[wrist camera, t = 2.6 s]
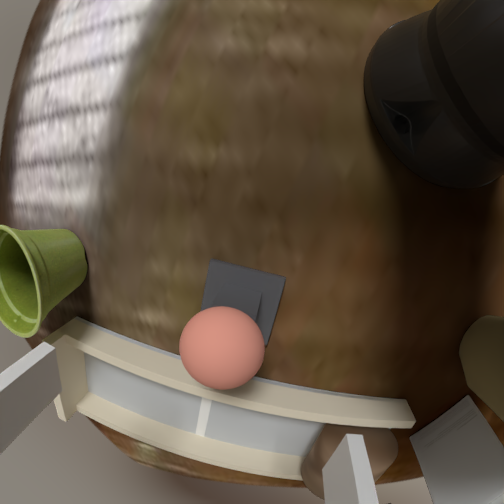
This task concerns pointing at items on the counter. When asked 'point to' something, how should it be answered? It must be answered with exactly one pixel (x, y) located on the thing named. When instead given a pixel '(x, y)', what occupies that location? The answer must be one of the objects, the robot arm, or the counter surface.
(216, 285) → the tee
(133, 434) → the tray
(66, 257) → the plant pot
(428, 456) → the supplement box
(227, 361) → the ball
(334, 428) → the hump
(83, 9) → the counter surface
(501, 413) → the squeeze bottle
